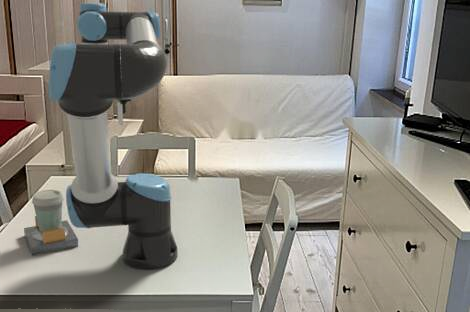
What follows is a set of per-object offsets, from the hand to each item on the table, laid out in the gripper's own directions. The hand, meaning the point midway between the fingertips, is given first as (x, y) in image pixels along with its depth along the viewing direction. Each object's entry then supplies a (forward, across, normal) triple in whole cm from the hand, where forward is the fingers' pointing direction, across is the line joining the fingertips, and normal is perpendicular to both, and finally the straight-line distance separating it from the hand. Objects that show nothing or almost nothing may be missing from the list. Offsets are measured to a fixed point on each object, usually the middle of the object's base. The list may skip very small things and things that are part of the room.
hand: (99, 126), depth 161 cm
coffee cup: (+28, +18, +10) cm, 35 cm away
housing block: (+31, +19, +10) cm, 37 cm away
